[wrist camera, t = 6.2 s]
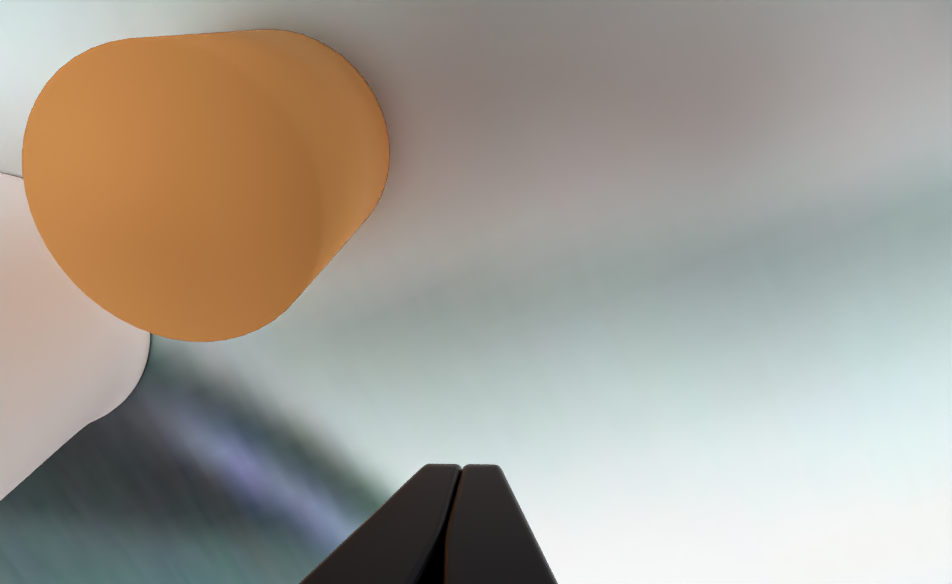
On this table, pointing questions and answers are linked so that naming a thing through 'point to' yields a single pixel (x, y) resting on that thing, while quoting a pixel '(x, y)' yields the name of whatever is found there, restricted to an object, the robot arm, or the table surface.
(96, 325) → the mug
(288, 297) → the orange short rounded piece
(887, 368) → the table surface
